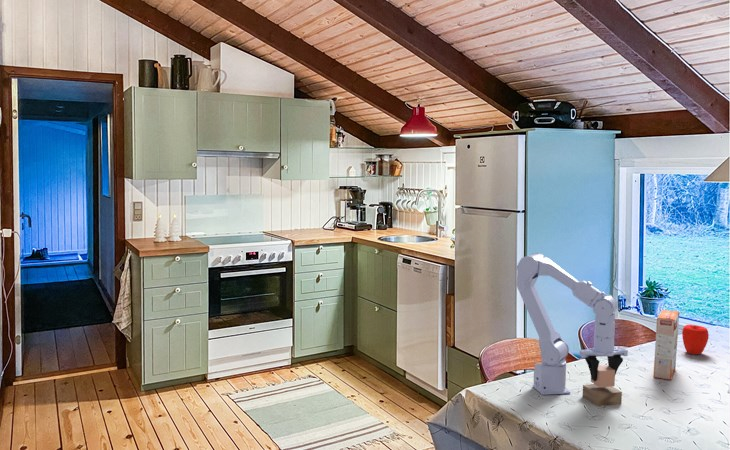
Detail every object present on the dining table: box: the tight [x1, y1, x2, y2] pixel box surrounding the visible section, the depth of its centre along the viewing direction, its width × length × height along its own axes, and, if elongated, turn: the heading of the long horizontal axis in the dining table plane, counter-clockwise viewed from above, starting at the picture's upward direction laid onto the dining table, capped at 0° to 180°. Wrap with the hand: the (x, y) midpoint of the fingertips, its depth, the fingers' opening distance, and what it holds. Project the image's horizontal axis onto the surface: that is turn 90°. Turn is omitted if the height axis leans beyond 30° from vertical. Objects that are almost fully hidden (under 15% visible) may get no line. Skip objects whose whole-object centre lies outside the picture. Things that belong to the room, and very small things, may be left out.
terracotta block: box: [590, 364, 616, 387], centre depth 190 cm, size 5×5×5 cm
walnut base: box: [582, 383, 623, 407], centre depth 191 cm, size 8×8×4 cm
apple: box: [681, 324, 710, 355], centre depth 238 cm, size 9×9×11 cm
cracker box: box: [653, 309, 680, 381], centre depth 214 cm, size 14×6×21 cm, turn 148°
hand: (602, 379), depth 191 cm, fingers closed on terracotta block, 5 cm apart
